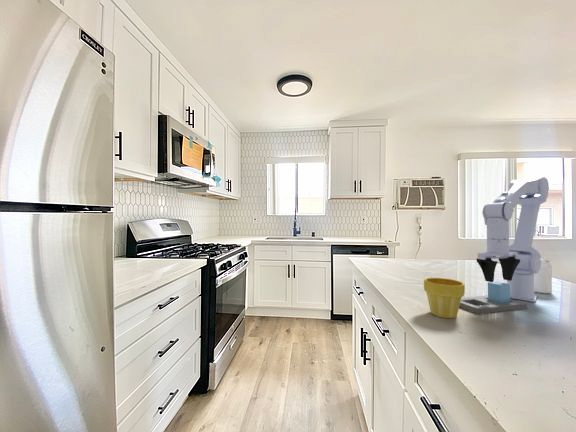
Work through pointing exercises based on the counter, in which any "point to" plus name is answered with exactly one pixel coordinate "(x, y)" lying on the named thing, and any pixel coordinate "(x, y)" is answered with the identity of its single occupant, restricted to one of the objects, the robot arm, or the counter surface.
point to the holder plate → (489, 305)
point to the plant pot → (444, 296)
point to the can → (543, 278)
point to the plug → (499, 292)
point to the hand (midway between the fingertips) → (498, 280)
